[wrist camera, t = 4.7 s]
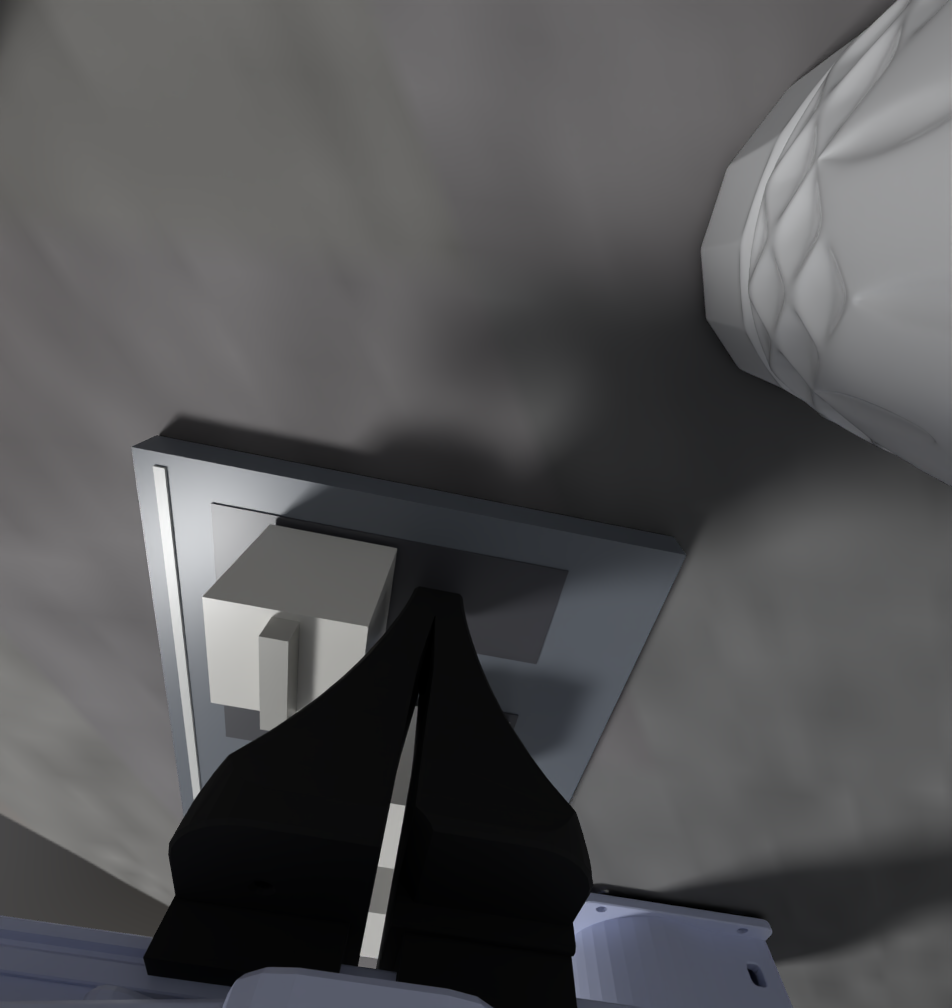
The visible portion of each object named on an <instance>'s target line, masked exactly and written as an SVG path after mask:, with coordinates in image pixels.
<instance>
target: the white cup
mask: <svg viewBox="0 0 952 1008" xmlns="http://www.w3.org/2000/svg"><path fill="white" fill-rule="evenodd" d="M701 263H702V275H703V288H704V300H705V313H706V319H707V321H708V323H709V324H710V326H711V327H712V329H713V330H714V332H715V333H716V335H717V336H718V338H719V339H720V341H721V342H722V344H723V345H724V347H725V348H726V350H727V352H728V353H729V355H730V356H731V358H732V359H733V361H734V362H735V364H736V365H737V367H738V368H739V369H741V370H743V371H745V372H747V373H749V374H751V375H753V376H755V377H758V378H760V379H762V380H764V381H766V382H769V383H771V384H773V385H775V386H777V387H780V388H782V389H784V390H786V391H787V392H789V393H791V394H792V395H794V396H796V397H797V398H799V399H801V400H803V401H804V402H806V403H807V404H808V405H809V406H811V407H812V408H813V409H814V410H815V411H816V412H817V413H818V414H819V415H820V416H822V417H823V418H825V419H827V420H829V421H832V422H834V423H836V424H838V425H839V426H841V427H843V428H844V429H846V430H848V431H850V432H851V433H853V434H855V435H857V436H858V437H860V438H862V439H864V440H866V441H867V442H869V443H871V444H873V445H875V446H876V447H878V448H881V449H883V450H885V451H888V452H890V453H892V454H895V455H897V456H898V457H900V458H902V459H903V460H905V461H906V462H908V463H910V464H911V465H913V466H915V467H916V468H918V469H920V470H921V471H923V472H925V473H926V474H928V475H930V476H932V477H934V478H935V479H937V480H939V481H941V482H943V483H945V484H947V485H949V486H951V487H952V0H897V1H896V2H895V3H894V4H893V5H892V6H891V7H889V8H888V9H887V10H886V11H885V12H884V13H883V14H882V15H881V16H880V17H879V18H878V19H877V20H876V21H875V22H874V23H873V24H872V25H871V26H870V27H868V28H867V29H866V30H865V31H863V32H862V33H861V34H859V35H858V36H857V37H855V38H854V39H853V40H851V41H850V42H849V43H847V44H846V45H845V46H843V47H842V48H841V49H839V50H838V51H837V52H835V53H834V54H833V55H831V56H830V57H829V58H827V59H826V60H825V61H823V62H822V63H821V64H819V65H818V66H817V67H815V68H814V69H813V70H811V71H810V72H808V73H807V74H806V75H804V76H803V77H802V78H801V79H799V80H798V81H797V82H795V83H794V84H793V85H792V86H790V87H789V88H788V89H787V90H786V92H785V93H784V94H783V95H782V97H781V98H780V99H779V101H778V102H777V103H776V105H775V106H774V107H773V109H772V110H771V111H770V112H769V114H768V115H767V116H766V118H765V119H764V120H763V122H762V123H761V124H760V125H759V127H758V128H757V129H756V131H755V132H754V133H753V135H752V136H751V137H750V138H749V140H748V141H747V142H746V144H745V145H744V146H743V147H742V149H741V150H740V151H739V153H738V154H737V155H736V157H735V158H734V159H733V160H732V162H731V163H730V164H729V166H728V167H727V170H726V173H725V176H724V179H723V182H722V185H721V188H720V191H719V194H718V197H717V200H716V203H715V206H714V209H713V212H712V215H711V218H710V221H709V225H708V228H707V231H706V234H705V237H704V240H703V243H702V246H701Z"/></svg>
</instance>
